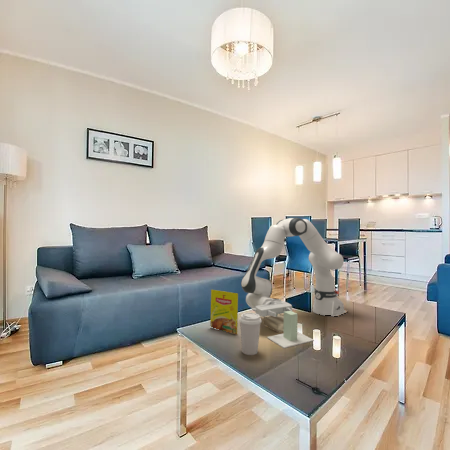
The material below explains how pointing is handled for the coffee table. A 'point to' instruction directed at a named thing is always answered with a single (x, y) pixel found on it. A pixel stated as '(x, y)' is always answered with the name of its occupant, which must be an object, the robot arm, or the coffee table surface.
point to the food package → (224, 311)
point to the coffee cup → (250, 332)
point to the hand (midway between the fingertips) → (284, 313)
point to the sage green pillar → (290, 325)
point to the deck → (275, 322)
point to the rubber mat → (286, 343)
